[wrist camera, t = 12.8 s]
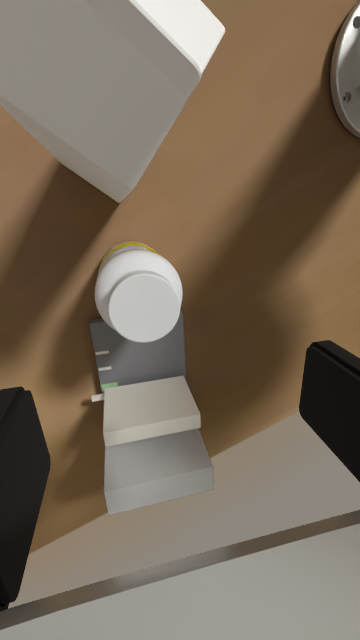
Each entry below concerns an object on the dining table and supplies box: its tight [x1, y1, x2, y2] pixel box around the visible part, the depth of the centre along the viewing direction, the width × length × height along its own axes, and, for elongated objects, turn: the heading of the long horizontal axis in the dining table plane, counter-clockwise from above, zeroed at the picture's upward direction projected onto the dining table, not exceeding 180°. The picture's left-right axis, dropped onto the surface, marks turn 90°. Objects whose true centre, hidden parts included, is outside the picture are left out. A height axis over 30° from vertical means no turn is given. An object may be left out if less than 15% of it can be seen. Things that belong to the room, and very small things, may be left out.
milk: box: [0, 0, 225, 203], centre depth 16 cm, size 6×6×22 cm
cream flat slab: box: [91, 376, 201, 447], centre depth 30 cm, size 2×10×7 cm, turn 93°
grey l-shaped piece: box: [89, 309, 214, 515], centre depth 29 cm, size 15×10×11 cm, turn 3°
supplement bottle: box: [95, 241, 183, 343], centre depth 24 cm, size 7×7×13 cm
